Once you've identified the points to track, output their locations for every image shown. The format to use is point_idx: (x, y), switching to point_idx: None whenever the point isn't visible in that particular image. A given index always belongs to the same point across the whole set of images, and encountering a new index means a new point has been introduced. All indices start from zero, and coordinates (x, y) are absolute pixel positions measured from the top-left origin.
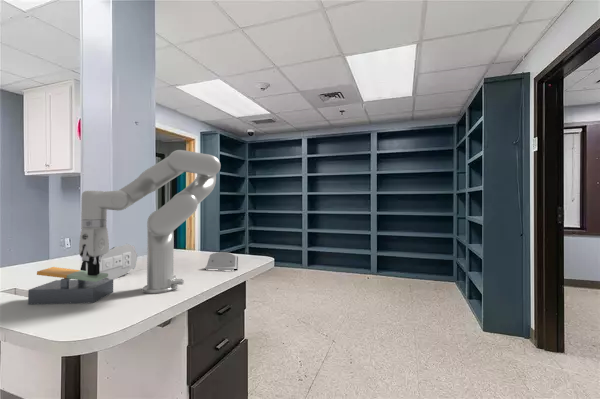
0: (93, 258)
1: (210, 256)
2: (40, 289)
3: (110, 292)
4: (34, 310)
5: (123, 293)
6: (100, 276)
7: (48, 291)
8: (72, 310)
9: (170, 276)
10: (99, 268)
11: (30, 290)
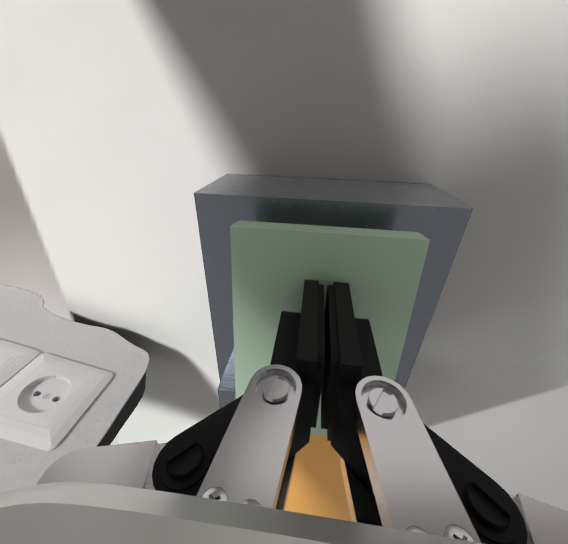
0: (462, 508)
1: None
2: None
3: (254, 176)
4: (451, 367)
5: (254, 80)
6: (350, 241)
7: None
8: (535, 226)
9: None
10: (302, 310)
11: None
